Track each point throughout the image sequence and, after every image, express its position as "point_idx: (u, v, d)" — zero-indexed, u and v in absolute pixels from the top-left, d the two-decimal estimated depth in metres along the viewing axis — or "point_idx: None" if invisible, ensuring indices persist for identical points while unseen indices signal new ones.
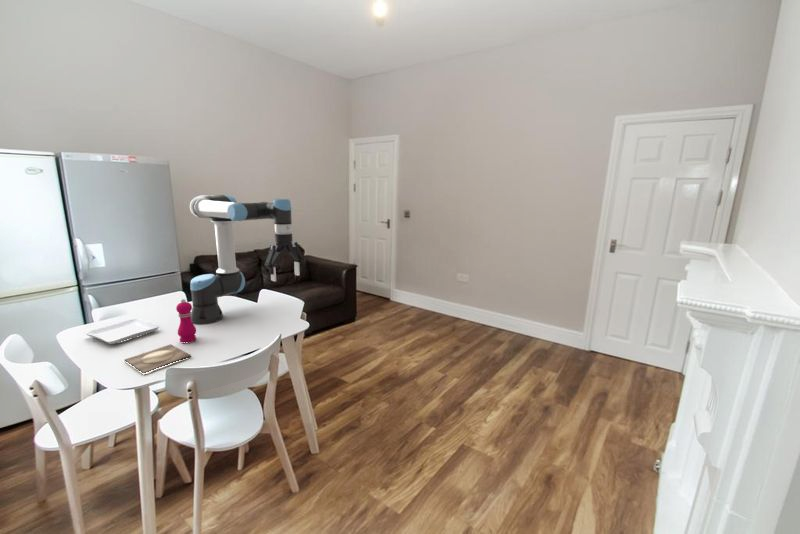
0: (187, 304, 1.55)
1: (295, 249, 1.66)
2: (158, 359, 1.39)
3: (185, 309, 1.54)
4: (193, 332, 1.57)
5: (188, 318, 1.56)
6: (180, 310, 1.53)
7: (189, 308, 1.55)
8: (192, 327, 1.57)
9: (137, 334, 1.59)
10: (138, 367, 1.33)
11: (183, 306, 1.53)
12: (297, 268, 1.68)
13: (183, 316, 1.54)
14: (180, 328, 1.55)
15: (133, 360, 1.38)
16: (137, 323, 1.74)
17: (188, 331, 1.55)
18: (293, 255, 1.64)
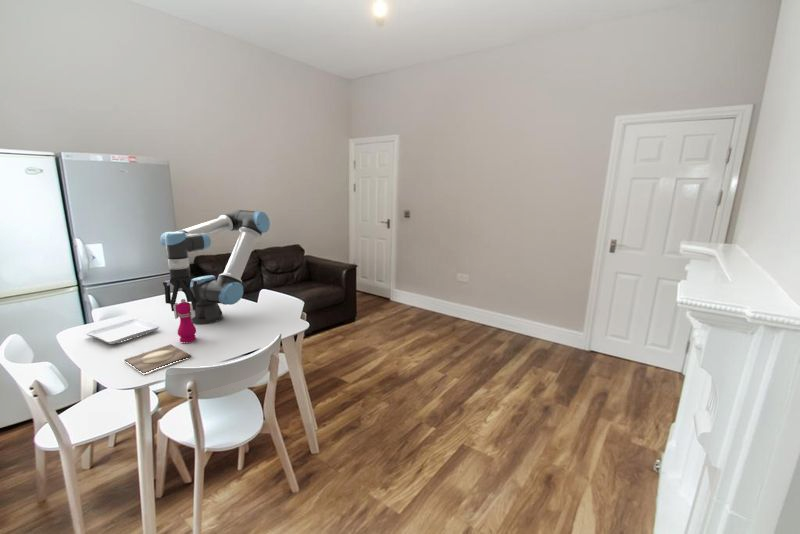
0: (187, 304, 1.55)
1: None
2: (158, 359, 1.39)
3: (185, 309, 1.54)
4: (193, 332, 1.57)
5: (188, 318, 1.56)
6: (180, 310, 1.53)
7: (189, 308, 1.55)
8: (192, 327, 1.57)
9: (137, 334, 1.59)
10: (138, 367, 1.33)
11: (183, 305, 1.53)
12: None
13: (183, 316, 1.54)
14: (180, 328, 1.55)
15: (133, 360, 1.38)
16: (137, 323, 1.74)
17: (187, 331, 1.55)
18: (187, 293, 1.54)
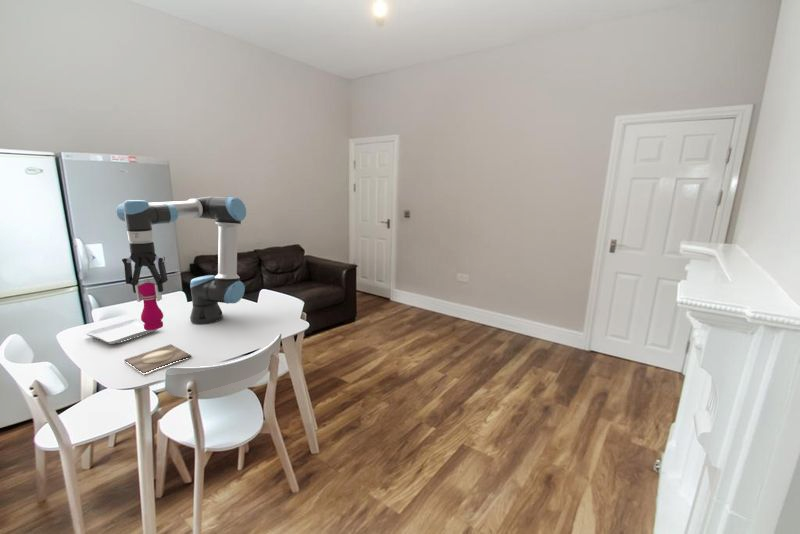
0: (151, 285, 1.34)
1: None
2: (158, 359, 1.39)
3: (149, 290, 1.32)
4: (159, 317, 1.36)
5: (153, 301, 1.35)
6: (143, 291, 1.32)
7: (154, 289, 1.34)
8: (158, 312, 1.36)
9: (137, 334, 1.60)
10: (138, 367, 1.33)
11: (146, 286, 1.32)
12: None
13: (147, 298, 1.33)
14: (143, 312, 1.34)
15: (133, 360, 1.38)
16: (137, 323, 1.74)
17: (152, 316, 1.34)
18: (151, 272, 1.33)
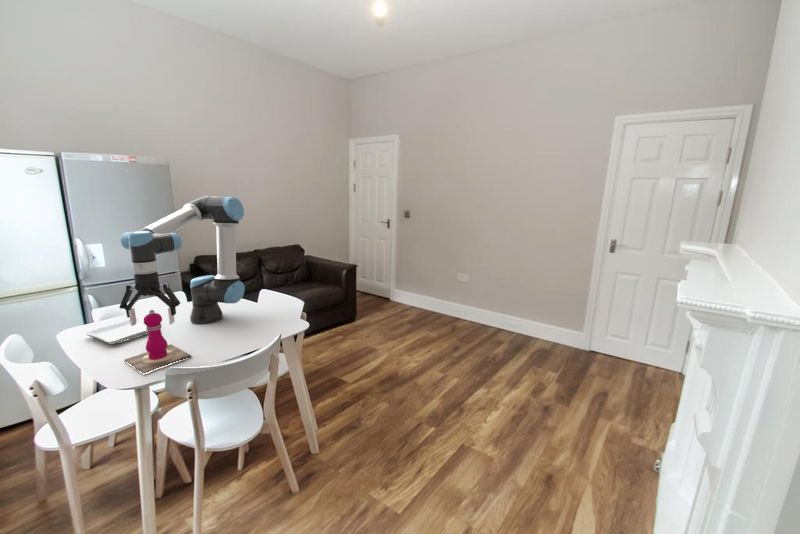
0: (156, 316, 1.37)
1: None
2: (158, 359, 1.39)
3: (154, 321, 1.35)
4: (163, 347, 1.39)
5: (158, 331, 1.38)
6: (148, 322, 1.35)
7: (158, 320, 1.37)
8: (162, 341, 1.39)
9: (137, 334, 1.60)
10: (138, 367, 1.33)
11: (151, 317, 1.35)
12: None
13: (151, 329, 1.36)
14: (148, 343, 1.37)
15: (133, 360, 1.38)
16: (137, 323, 1.74)
17: (157, 346, 1.37)
18: (161, 299, 1.36)
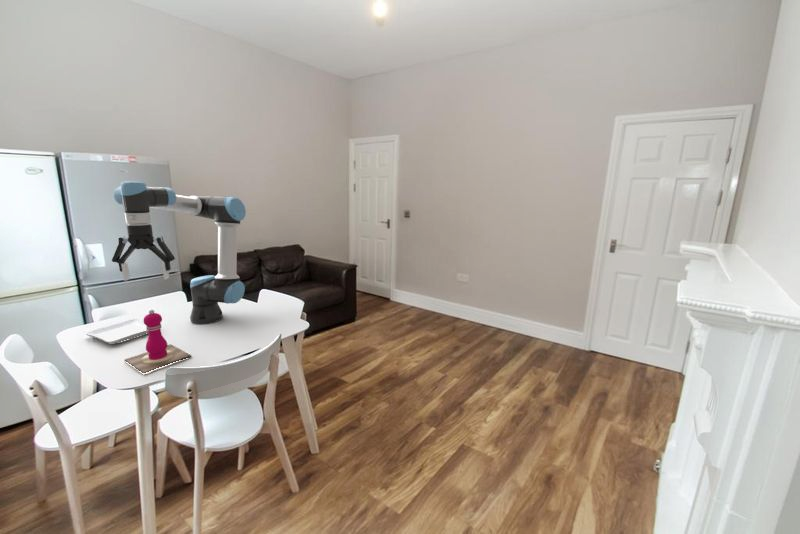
0: (156, 316, 1.37)
1: None
2: (158, 359, 1.39)
3: (154, 321, 1.35)
4: (163, 347, 1.39)
5: (158, 331, 1.38)
6: (147, 322, 1.35)
7: (158, 320, 1.37)
8: (162, 341, 1.39)
9: (137, 334, 1.60)
10: (138, 367, 1.33)
11: (151, 317, 1.35)
12: None
13: (151, 329, 1.36)
14: (148, 343, 1.37)
15: (133, 360, 1.38)
16: (137, 323, 1.74)
17: (157, 346, 1.37)
18: (155, 253, 1.32)
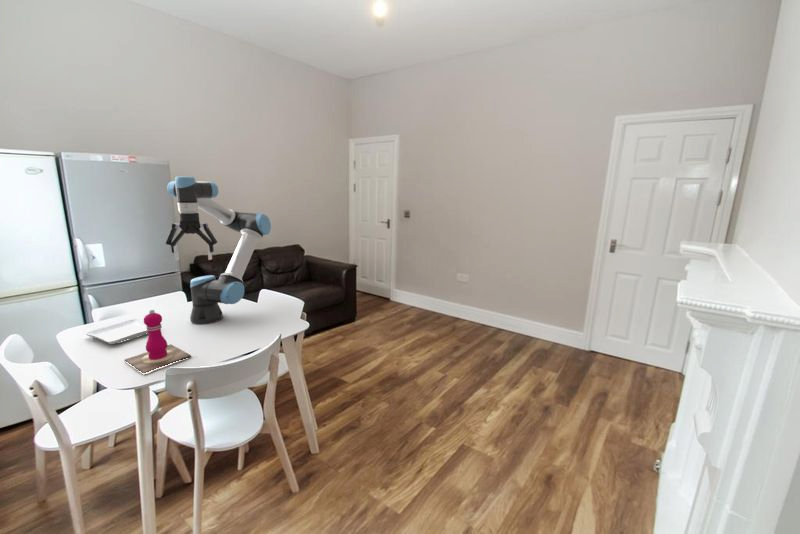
0: (156, 315, 1.37)
1: None
2: (158, 359, 1.39)
3: (154, 321, 1.35)
4: (163, 347, 1.39)
5: (158, 331, 1.38)
6: (148, 322, 1.35)
7: (158, 320, 1.37)
8: (162, 341, 1.39)
9: (137, 334, 1.60)
10: (138, 367, 1.33)
11: (151, 317, 1.35)
12: (208, 252, 1.57)
13: (151, 329, 1.36)
14: (148, 343, 1.37)
15: (133, 360, 1.38)
16: (137, 323, 1.74)
17: (157, 346, 1.37)
18: (201, 237, 1.55)
